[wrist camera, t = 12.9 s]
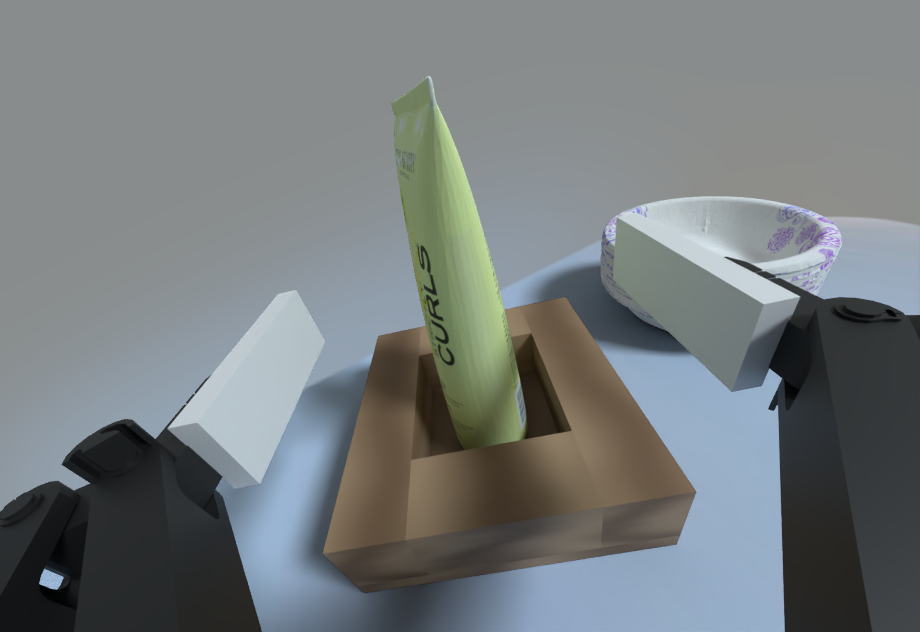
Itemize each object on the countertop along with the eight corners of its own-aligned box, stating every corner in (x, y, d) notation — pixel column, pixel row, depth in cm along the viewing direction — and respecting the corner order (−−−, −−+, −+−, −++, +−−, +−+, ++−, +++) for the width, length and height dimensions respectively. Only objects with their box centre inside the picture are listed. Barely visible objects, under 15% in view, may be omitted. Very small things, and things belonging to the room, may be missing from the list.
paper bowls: (862, 349, 23) (928, 243, 18) (631, 371, 25) (641, 283, 21) (727, 258, 35) (748, 182, 31) (582, 279, 38) (582, 212, 33)
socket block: (364, 593, 17) (322, 553, 14) (396, 377, 30) (378, 335, 28) (676, 544, 16) (696, 491, 13) (566, 343, 29) (565, 297, 26)
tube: (436, 443, 22) (302, 115, 12) (470, 390, 25) (391, 98, 15) (512, 475, 19) (428, 75, 9) (540, 410, 23) (504, 65, 12)
